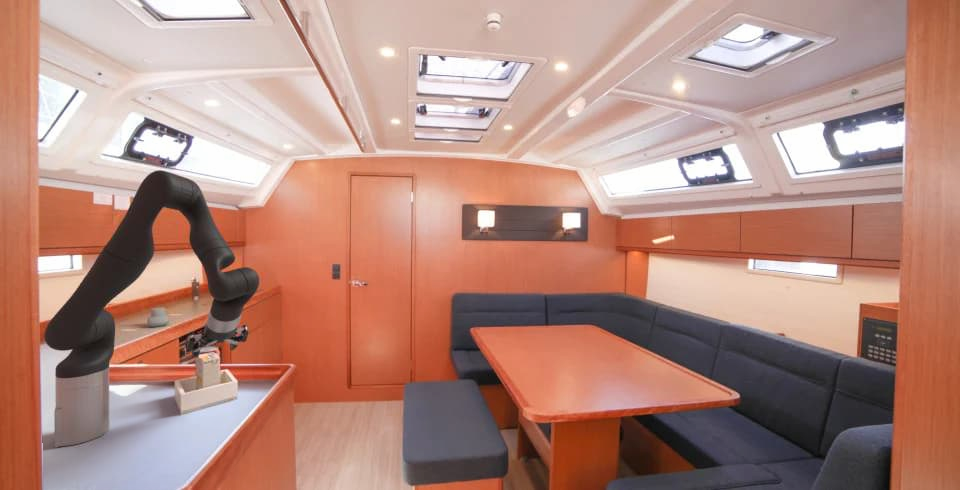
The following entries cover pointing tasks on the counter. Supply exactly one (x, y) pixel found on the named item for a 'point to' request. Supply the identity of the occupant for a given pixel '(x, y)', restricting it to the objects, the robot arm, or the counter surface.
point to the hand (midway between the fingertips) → (214, 351)
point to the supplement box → (207, 370)
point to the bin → (205, 393)
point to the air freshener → (158, 317)
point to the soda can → (208, 350)
